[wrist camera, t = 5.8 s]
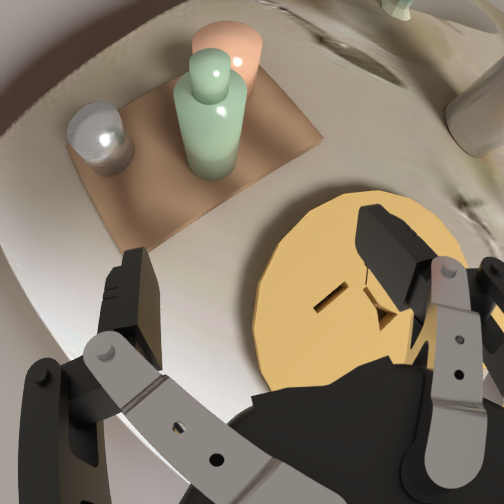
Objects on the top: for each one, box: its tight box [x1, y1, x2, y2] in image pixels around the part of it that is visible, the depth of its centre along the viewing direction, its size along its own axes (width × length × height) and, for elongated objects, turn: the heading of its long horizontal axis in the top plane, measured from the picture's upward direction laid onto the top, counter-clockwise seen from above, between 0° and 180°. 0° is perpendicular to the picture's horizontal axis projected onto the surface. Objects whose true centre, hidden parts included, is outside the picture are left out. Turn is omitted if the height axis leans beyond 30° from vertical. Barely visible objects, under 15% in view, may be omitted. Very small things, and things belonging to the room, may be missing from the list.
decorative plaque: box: [251, 190, 504, 391], centre depth 29 cm, size 31×3×30 cm
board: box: [66, 65, 323, 255], centre depth 30 cm, size 23×15×2 cm, turn 125°
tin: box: [67, 101, 135, 177], centre depth 25 cm, size 5×5×6 cm
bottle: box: [174, 48, 247, 181], centre depth 22 cm, size 5×5×14 cm
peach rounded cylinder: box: [192, 21, 262, 101], centre depth 27 cm, size 6×6×7 cm
